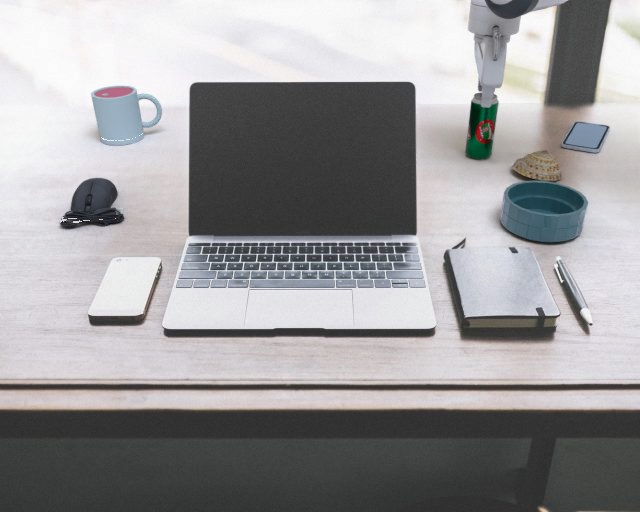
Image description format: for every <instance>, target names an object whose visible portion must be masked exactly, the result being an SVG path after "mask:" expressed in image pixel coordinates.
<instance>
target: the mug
mask: <svg viewBox="0 0 640 512" xmlns="http://www.w3.org/2000/svg"><path fill="white" fill-rule="evenodd" d="M90 96H91V101H92V106H93V111H94V116H95V120H96V124H97V129H98V134H99V139H100V142H101V143H102V144H103V145H106V146H128V145H133V144H135V143H138V142H140V141H142V140H143V139H144V138H145V131H144V132H143V130H144V129H145V128H146V129H148V128H152V127H155V126H157V124H159V122H160V121H161V119H162V117H163V108H162V104H161V103H160V101H159V100H158V99H157V97H155V96H154V95H152V94H150V93H145V92H144V93H143V92H142V93H138V91H137V87H134V86H131V85H109V86H104V87H100V88H97V89H95V90H93V91H92V92H90ZM141 100H148V101H150V102H151V103H152V104H153V105H154V106H155V109H156V115H155V117H154V118H153V119H152V120H150V121H146V122H145V121H143V120H142V114H141V113H142V112H141V109H140V102H139V101H141ZM142 133H143V134H142ZM141 134H142V135H141ZM139 135H140V136H139ZM100 136H101V137H102V138H104V139H107V140H114V141H107V140H103V139H102V138H100ZM135 137H136V138H135ZM132 138H133V139H132ZM126 139H130V140H126ZM115 140H117V141H115ZM118 140H124V141H118Z"/></svg>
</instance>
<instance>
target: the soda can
mask: <svg viewBox="0 0 640 512" xmlns="http://www.w3.org/2000/svg"><path fill="white" fill-rule="evenodd" d="M481 96H482V92H476V93H474V94H473V98H472V99H471V100H470V106H469V116H468V125H467V133H466V134H467V135H466V143H465V151H464V152H465V154H466V156H467V157H468V158H470V159H473V160H479V161H480V160H486V159H487V160H488V158H490V157H491V156H492V155H493V149H494V140H495V132H496V127H497V117H498V110H499V104H500V102H499V99H498V95H497V94H495V93H494V95H493V98H492V103H491V107H489V108H488V107H482V106H481Z"/></svg>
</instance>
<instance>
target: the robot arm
mask: <svg viewBox="0 0 640 512" xmlns="http://www.w3.org/2000/svg"><path fill="white" fill-rule="evenodd" d="M568 1H569V2H570V0H470V4H469V12H468V21H467V23H468V24H467V31H468V32H469V33H472V34H473V42H474V60H475V65H476V71H477V74H478V75H477V76H478V80H477V91H478V93H481V92H482V96H481V106H482V107H488V108H489V107H491V103H492V98H493V95H494V94H495V92H496V89H501V88H502V86H503V83H504V77H505V69H506V63H507V62H506V59H507V51H508V49H507V48H508V43H510V41H511V36H513V35H516V34H518V33H519V31H520V26H521V20H522V19H521V18H522V16H524V15H527V14H529V13H532V12H538V11H541V10H546V9H548V8H552V7H556V6H560V5H562V4H564V3H567V2H568Z"/></svg>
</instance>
